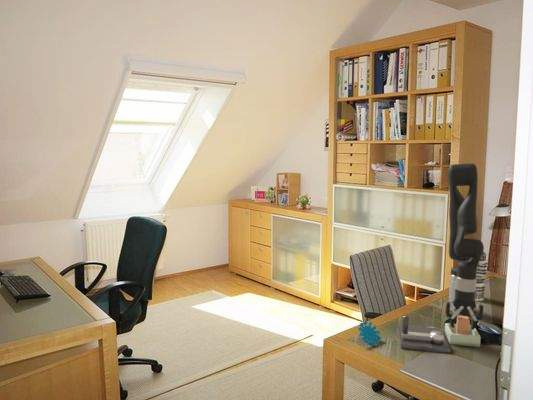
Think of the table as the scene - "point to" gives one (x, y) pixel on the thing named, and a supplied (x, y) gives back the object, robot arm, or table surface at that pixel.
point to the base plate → (421, 344)
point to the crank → (433, 336)
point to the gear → (369, 333)
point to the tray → (462, 336)
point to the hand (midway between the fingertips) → (462, 327)
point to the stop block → (463, 325)
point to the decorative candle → (480, 278)
